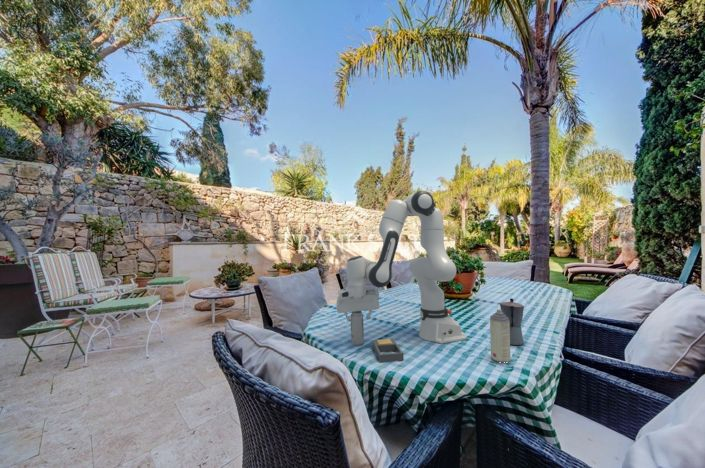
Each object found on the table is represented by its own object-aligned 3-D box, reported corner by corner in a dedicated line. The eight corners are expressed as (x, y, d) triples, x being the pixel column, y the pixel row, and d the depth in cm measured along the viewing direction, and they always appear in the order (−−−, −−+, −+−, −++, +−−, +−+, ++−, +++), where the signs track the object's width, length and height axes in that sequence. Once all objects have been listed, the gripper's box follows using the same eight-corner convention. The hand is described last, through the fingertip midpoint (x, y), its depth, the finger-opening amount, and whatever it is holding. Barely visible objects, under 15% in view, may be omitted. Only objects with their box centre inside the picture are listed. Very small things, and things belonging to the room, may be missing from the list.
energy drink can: (351, 341, 132) (350, 310, 132) (363, 340, 132) (362, 310, 132) (351, 346, 126) (350, 314, 126) (364, 346, 126) (363, 313, 126)
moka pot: (522, 337, 130) (521, 296, 130) (527, 351, 116) (526, 304, 116) (500, 335, 134) (498, 294, 134) (502, 347, 120) (501, 302, 120)
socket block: (393, 345, 126) (393, 337, 126) (403, 360, 111) (403, 352, 111) (372, 346, 125) (372, 339, 125) (379, 362, 110) (379, 354, 110)
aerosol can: (498, 354, 114) (497, 306, 114) (514, 361, 107) (513, 310, 107) (487, 357, 111) (485, 308, 111) (502, 365, 105) (501, 313, 105)
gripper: (377, 287, 133) (378, 315, 133) (335, 291, 130) (336, 319, 131) (380, 290, 127) (381, 320, 127) (336, 294, 124) (337, 324, 124)
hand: (358, 320), depth 129 cm, fingers open, 8 cm apart
